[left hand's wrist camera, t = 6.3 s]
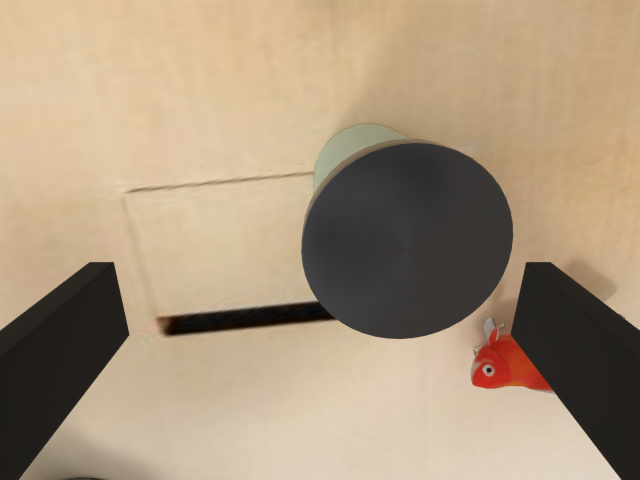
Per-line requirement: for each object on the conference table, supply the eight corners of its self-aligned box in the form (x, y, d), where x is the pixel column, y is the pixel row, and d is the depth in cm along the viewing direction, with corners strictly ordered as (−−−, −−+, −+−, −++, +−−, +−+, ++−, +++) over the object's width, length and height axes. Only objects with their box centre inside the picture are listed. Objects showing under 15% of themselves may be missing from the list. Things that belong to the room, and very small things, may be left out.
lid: (277, 171, 20) (273, 178, 18) (485, 112, 19) (501, 114, 17) (331, 339, 23) (332, 357, 22) (507, 297, 22) (522, 313, 21)
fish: (470, 286, 34) (566, 386, 27) (583, 251, 40) (684, 325, 33) (432, 356, 41) (502, 450, 34) (534, 317, 47) (610, 389, 40)
